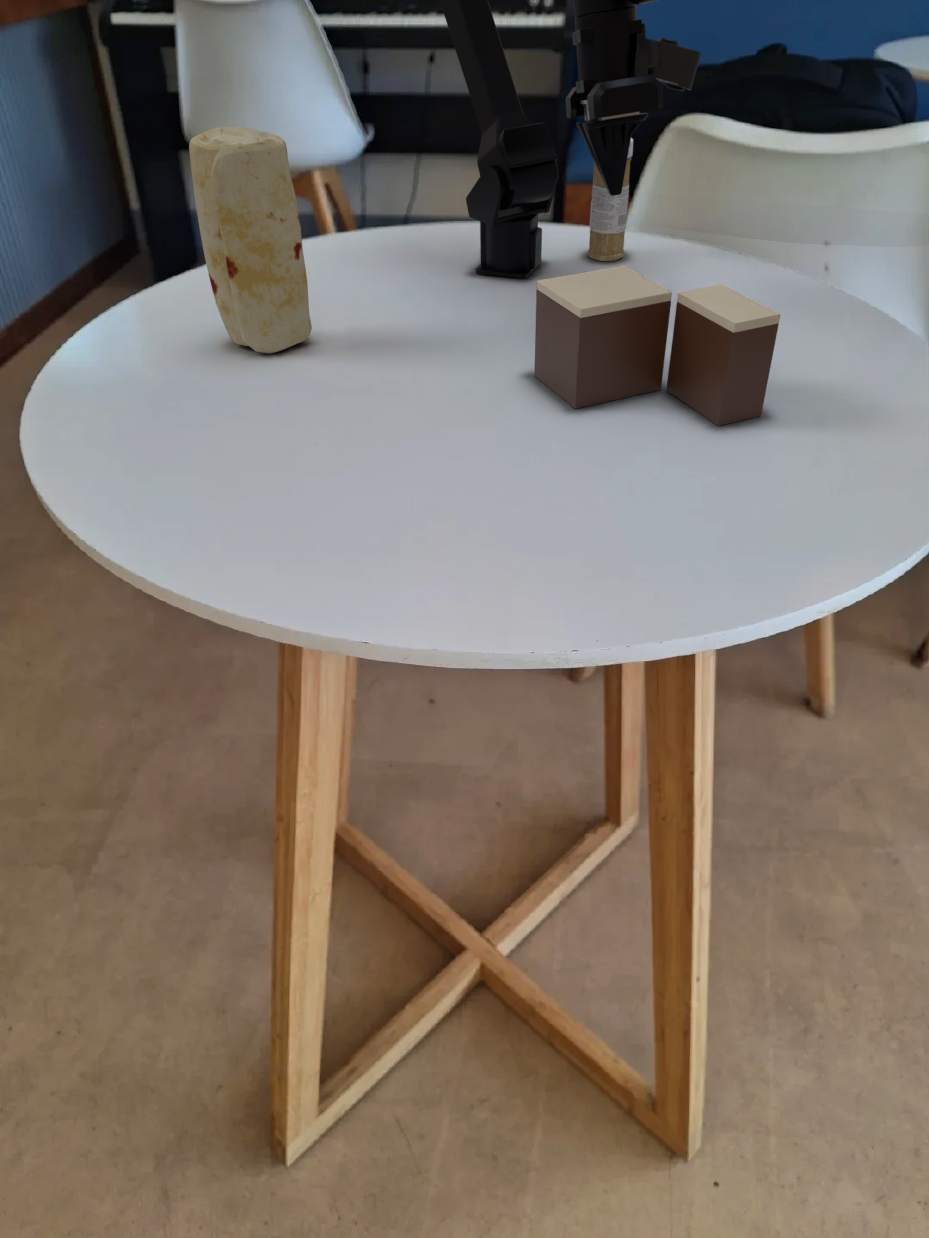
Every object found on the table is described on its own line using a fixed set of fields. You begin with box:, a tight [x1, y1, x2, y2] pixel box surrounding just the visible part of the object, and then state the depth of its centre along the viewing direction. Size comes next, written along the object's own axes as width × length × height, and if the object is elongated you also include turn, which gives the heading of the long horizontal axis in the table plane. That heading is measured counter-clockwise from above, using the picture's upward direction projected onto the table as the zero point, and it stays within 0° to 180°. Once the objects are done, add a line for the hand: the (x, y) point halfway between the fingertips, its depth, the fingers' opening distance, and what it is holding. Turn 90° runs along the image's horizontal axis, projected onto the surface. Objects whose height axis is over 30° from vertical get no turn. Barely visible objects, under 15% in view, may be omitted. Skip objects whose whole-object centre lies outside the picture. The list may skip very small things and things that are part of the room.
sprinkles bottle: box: [587, 137, 634, 262], centre depth 112 cm, size 5×5×14 cm
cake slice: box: [665, 284, 781, 427], centre depth 80 cm, size 8×4×9 cm, turn 24°
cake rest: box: [533, 265, 673, 410], centre depth 84 cm, size 8×9×9 cm
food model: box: [188, 126, 313, 355], centre depth 90 cm, size 10×7×20 cm
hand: (615, 195), depth 95 cm, fingers closed
